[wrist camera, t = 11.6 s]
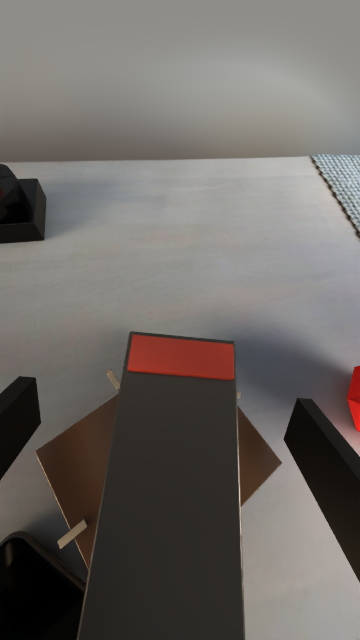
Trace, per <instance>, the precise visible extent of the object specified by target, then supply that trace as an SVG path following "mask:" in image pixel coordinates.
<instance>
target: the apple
mask: <svg viewBox="0 0 360 640" xmlns="http://www.w3.org/2000/svg"><path fill="white" fill-rule="evenodd" d="M347 401H348V404H349V407H350V410H351V414H352V417H353V420H354V423H355V427H356V430H357V431H359V432H360V366H357V367H354V371H353V375H352V380H351V384H350V388H349V392H348V397H347Z"/></svg>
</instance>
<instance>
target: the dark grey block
mask: <svg viewBox="0 0 360 640" xmlns="http://www.w3.org/2000/svg"><path fill="white" fill-rule="evenodd" d="M76 640H245V620H244V590H243V560H242V531H241V501H240V471H239V441H238V411H237V381H236V351H235V342H234V341H224V340H214V339H204V338H194V337H183V336H173V335H163V334H153V333H142V332H130V333H129V338H128V344H127V350H126V356H125V361H124V367H123V373H122V379H121V384H120V390H119V396H118V402H117V408H116V413H115V419H114V425H113V431H112V436H111V442H110V448H109V454H108V460H107V465H106V471H105V477H104V483H103V488H102V494H101V500H100V506H99V512H98V517H97V523H96V529H95V535H94V540H93V546H92V552H91V558H90V564H89V569H88V575H87V581H86V587H85V592H84V598H83V604H82V610H81V616H80V621H79V627H78V633H77V639H76Z"/></svg>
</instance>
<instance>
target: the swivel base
mask: <svg viewBox="0 0 360 640" xmlns="http://www.w3.org/2000/svg"><path fill="white" fill-rule="evenodd" d="M106 373H107V375H108V376H109V378H110V380H111V381H112V383H113V385H114V386H115V388H116V389H117V391H118V390H119V389H120V383H119V381H118V379H117V378H116V376H115V375H114V373H113V371H112V370H111V369H110V370H108V371H107V372H106ZM118 396H119V394H118V395H116V396H115V397H114V398H112V399H111V400H109V401H108V402H106V403H105V404H103V405H102V406H100V407H99V408H98V409H96V410H95V411H93V412H92V413H90V414H89V415H87V416H86V417H84V418H83V419H82V420H80V421H79V422H77V423H76V424H74V425H73V426H71V427H70V428H68V429H67V430H66V431H64V432H63V433H61V434H60V435H58V436H57V437H55V438H54V439H53V440H51V441H50V442H48V443H47V444H45V445H44V446H42V447H41V448H39V449H38V450H37V451H35V453H36V455H37V458H38V460H39V462H40V464H41V466H42V469H43V471H44V473H45V475H46V478H47V480H48V482H49V484H50V486H51V489H52V491H53V493H54V495H55V497H56V500H57V502H58V504H59V506H60V508H61V511H62V513H63V515H64V517H65V520H66V522H67V524H68V526H69V528H70V531H69V532H68V533H67V534H65V535H64V536H63V537H62V538H61V539H59V540H58V541H57V542H58V544H59V547H60V549H61V548H63V547H64V546H65V545H66V544H67V543H68V542H70V541H71V540H72V539H73V538H74V539H75V542H76V544H77V546H78V548H79V550H80V553H81V555H82V557H83V559H84V562H85V564H86V566H87V568H88V569H89V564H90V558H91V552H92V546H93V540H94V535H95V529H96V523H97V517H98V512H99V506H100V500H101V494H102V488H103V483H104V477H105V471H106V465H107V460H108V454H109V448H110V442H111V436H112V431H113V425H114V419H115V413H116V408H117V402H118ZM240 396H241V393H240V392H239V391H237V399H238V398H239V397H240ZM237 411H238V441H239V471H240V501H241V506H242V505H243V504H244V503H245V502H246V501H247V500H248V499H249V498H250V497H251V496H252V495H253V494H254V492H255V491H256V490H257V489H258V488H259V487H260V486H261V485H262V484H263V483H264V482H265V481H266V480H267V479H268V478H269V477H270V476H271V474H272V473H273V472H274V471H275V470H276V469H277V468H278V467H279V466H280V465H281V464H282V462H281V461H280V460H279V458H278V457H277V456H276V455H275V453H274V452H273V451H272V449H271V448H270V447H269V445H268V444H267V443H266V442H265V440H264V439H263V438H262V436H261V435H260V434H259V433H258V431H257V430H256V429H255V427H254V426H253V425H252V424H251V422H250V421H249V420H248V418H247V417H246V416H245V414H244V413H243V412H242V411H241V409H240V408H239V407H238V405H237Z"/></svg>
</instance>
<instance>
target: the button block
mask: <svg viewBox="0 0 360 640" xmlns="http://www.w3.org/2000/svg"><path fill="white" fill-rule="evenodd" d="M45 213H46V196H45V194H44V192H43V190H42V188H41V186H40V183H39V181H38V179H17V178H16V176H15V175H14V174H13V173H12V171H11V170H10V169H9V168H8V167H7V166H6V165H3V164H0V244H2V243H15V242H29V241H42V240H44V232H45Z"/></svg>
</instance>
